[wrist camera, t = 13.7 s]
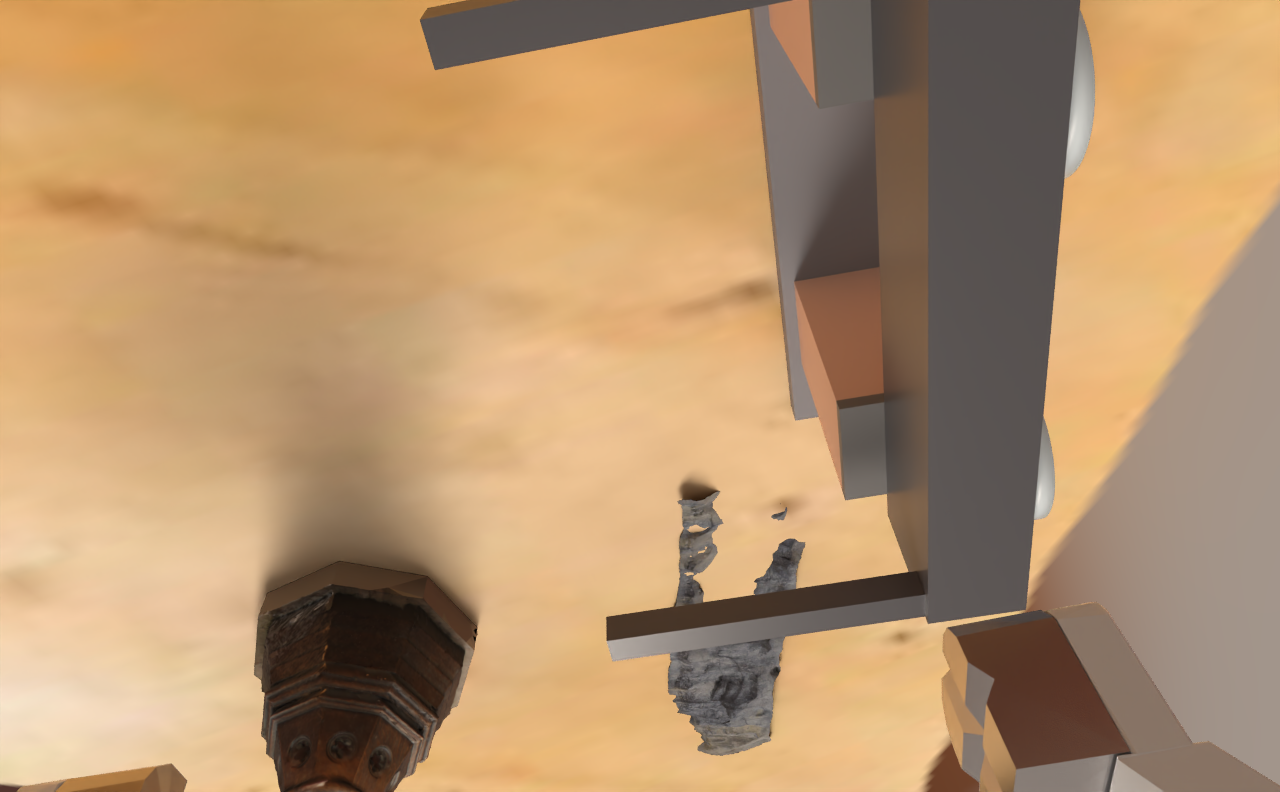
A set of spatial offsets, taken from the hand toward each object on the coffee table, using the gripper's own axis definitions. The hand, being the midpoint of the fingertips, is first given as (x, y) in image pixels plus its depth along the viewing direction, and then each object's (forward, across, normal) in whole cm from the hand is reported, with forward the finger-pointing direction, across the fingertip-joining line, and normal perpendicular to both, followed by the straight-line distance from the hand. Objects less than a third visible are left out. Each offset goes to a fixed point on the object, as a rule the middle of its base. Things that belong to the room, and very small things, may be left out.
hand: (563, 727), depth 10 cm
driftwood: (+29, -3, +33) cm, 44 cm away
